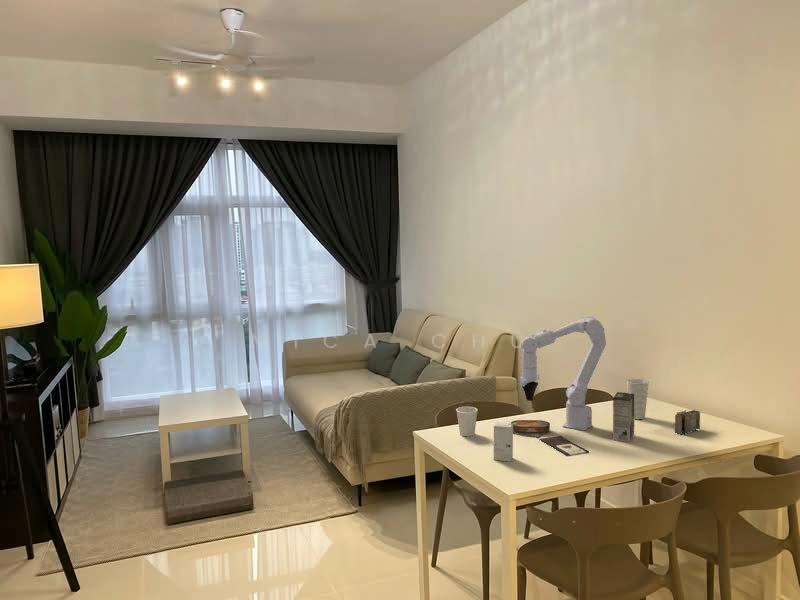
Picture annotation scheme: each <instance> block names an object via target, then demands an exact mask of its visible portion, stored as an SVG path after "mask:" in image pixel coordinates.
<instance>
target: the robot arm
mask: <svg viewBox="0 0 800 600" xmlns="http://www.w3.org/2000/svg"><path fill="white" fill-rule="evenodd" d="M573 333H581V334H585V333H586V334H587V335H588V337H589V339H590V342H591V344H590V347H589V348H588V351H587V353H586V355H585V357H584V360H583V362H582V364H581V366H580V368H579V371H578V373H577V375H576V377H575V378H574V380H572V383H571V384H570V385H569V386H568V387H567V388H566V390H565V396H566V397H567V401H566V402H565V403H566V404H565V407H566V409H565V413H566V417H565V418H566V419H565V423H564V424H562V427H563V428H568V429H574V430H581V431H587V430H589V428H591V427H592V426H593V422H592V421H593V416H592V415H593V411H592V409H593V408H592V407H591V406H589V405H587V404H586V394H587V391H588V384H589V383H590V380H591V378H592V376H593V374H594V371H595V370H596V367H597V364H598V363H599V360H600V359H601V356H602V354H603V352H604V350H605V348H606V346H607V341H606V339H607V338H606V334H605V328H604V325H602V323H601V322H600V321H599V320H598V319H596V318H595V317H593V316H586V317H585V318H580V319H576V320H575V321H572V322H571V323H568V324H566V325H564V326H561V327H559V328H557V329H555V330H551V329H545V328H544V329H542V331H540V332H538V333H536V334H535V333H532V334H531V335H530V336H525V337H524V338H523V339H522V340H521V343H520V344H521V348H522V352H521V354H522V355H521V366H522V367H521V373H522V374H521V376H519V387H521V388H522V390H523V392H524V394H525V395H524V396H525V399H526V401H529V402H532V401H534V396H535V393H536V389H537V388H538V385H539V382H538V380H540V374H538V370H537V367H538V366H537V365H538V364H537V363H538V362H537V359H538V358H537V357H538V356H537V350H538V349H541V348H544V347H547V346H550V345H553V344H554V343H555V342H556V340H557V339H558V338H561V337H564V336H567V335H570V334H573Z"/></svg>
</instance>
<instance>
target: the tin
mask: <svg viewBox="0 0 800 600" xmlns="http://www.w3.org/2000/svg"><path fill="white" fill-rule="evenodd" d="M510 424H513V431H515V432H522V433H543V432H546V433H548V432H549V431H550V430H551V429H550V427H551V422H548V421H546V420H542V419H541V420H540V419H538V420H537V419H534V420H533V419H516V420H512V421H510Z"/></svg>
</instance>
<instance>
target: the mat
mask: <svg viewBox="0 0 800 600" xmlns="http://www.w3.org/2000/svg"><path fill="white" fill-rule="evenodd" d="M513 433H514V434H515V435H520V436H524V435H525V437H529V436H530V437H531V438H535V437H536V439H538V438H540V437H542V436H543V435H545V434H546V433H547V432H543V433H522V432H515V431H513ZM544 433H545V434H544ZM514 434H513V435H514ZM541 435H542V436H541Z"/></svg>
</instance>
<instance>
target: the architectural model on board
mask: <svg viewBox="0 0 800 600" xmlns="http://www.w3.org/2000/svg"><path fill="white" fill-rule="evenodd" d="M674 415H675V416H674V418H675V419H674V421H675V422H674V434H675V433H677V434H676V435H679V434H684V433H687V434H689V433H688V432H690V433H692V432H691V431H694V432H696V431H695V430H696V429H700V428H701V411H700V410H696V409H693V410H689V411H688V410H683V411H678V412H676V414H674ZM700 430H701V429H700ZM682 431H683V432H682Z"/></svg>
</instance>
